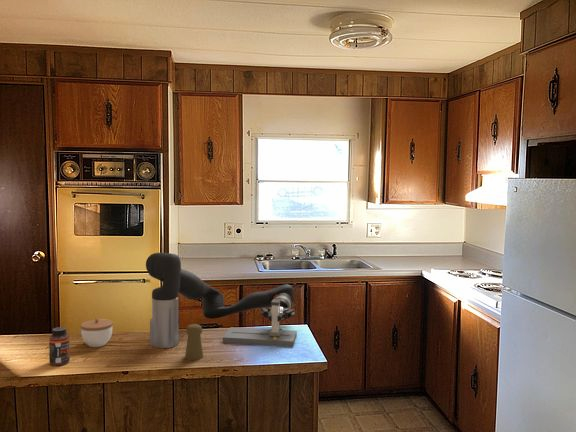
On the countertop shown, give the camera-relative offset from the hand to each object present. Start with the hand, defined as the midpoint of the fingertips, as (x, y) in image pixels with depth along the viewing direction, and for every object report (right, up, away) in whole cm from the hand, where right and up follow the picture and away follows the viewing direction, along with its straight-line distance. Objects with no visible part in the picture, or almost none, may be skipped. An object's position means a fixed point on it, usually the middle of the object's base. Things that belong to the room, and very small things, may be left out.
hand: (274, 318), depth 176 cm
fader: (0, -6, +3) cm, 7 cm away
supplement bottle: (-69, -10, -21) cm, 73 cm away
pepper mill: (-27, -10, -14) cm, 32 cm away
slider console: (-5, -9, +4) cm, 11 cm away
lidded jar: (-64, -9, -4) cm, 64 cm away
